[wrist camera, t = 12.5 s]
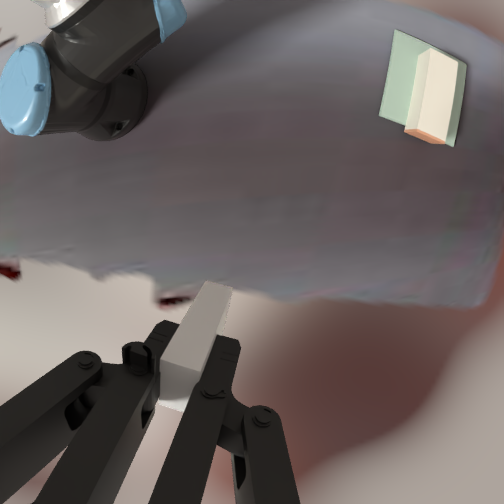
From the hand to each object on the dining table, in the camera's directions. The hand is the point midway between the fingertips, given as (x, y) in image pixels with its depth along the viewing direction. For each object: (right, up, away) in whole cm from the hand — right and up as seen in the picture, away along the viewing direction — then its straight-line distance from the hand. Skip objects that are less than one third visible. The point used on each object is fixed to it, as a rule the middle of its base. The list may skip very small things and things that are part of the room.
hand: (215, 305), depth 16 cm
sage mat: (+30, +29, +20) cm, 46 cm away
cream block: (+27, +20, +21) cm, 40 cm away
